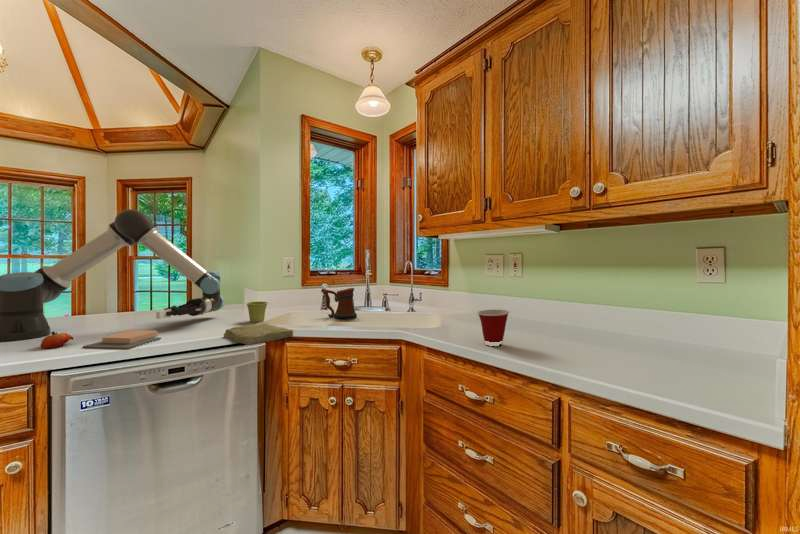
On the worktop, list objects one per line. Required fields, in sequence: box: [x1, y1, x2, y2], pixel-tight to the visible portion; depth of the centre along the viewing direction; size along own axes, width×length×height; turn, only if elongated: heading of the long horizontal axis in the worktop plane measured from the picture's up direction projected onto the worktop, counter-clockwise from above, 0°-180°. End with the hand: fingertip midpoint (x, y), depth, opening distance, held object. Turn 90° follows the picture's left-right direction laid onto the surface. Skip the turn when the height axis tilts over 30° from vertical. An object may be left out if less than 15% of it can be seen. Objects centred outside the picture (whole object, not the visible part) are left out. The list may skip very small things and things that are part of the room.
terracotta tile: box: [101, 329, 159, 344], centre depth 124 cm, size 10×2×12 cm
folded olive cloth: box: [223, 323, 294, 346], centre depth 133 cm, size 19×20×4 cm
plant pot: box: [245, 301, 269, 323], centre depth 164 cm, size 9×9×9 cm
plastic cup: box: [477, 308, 510, 342], centre depth 123 cm, size 11×11×12 cm
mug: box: [320, 287, 358, 320], centre depth 176 cm, size 18×12×15 cm, turn 85°
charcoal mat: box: [82, 337, 162, 350], centre depth 121 cm, size 16×14×1 cm
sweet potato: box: [40, 330, 74, 350], centre depth 117 cm, size 8×7×7 cm
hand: (157, 315), depth 136 cm, fingers closed
